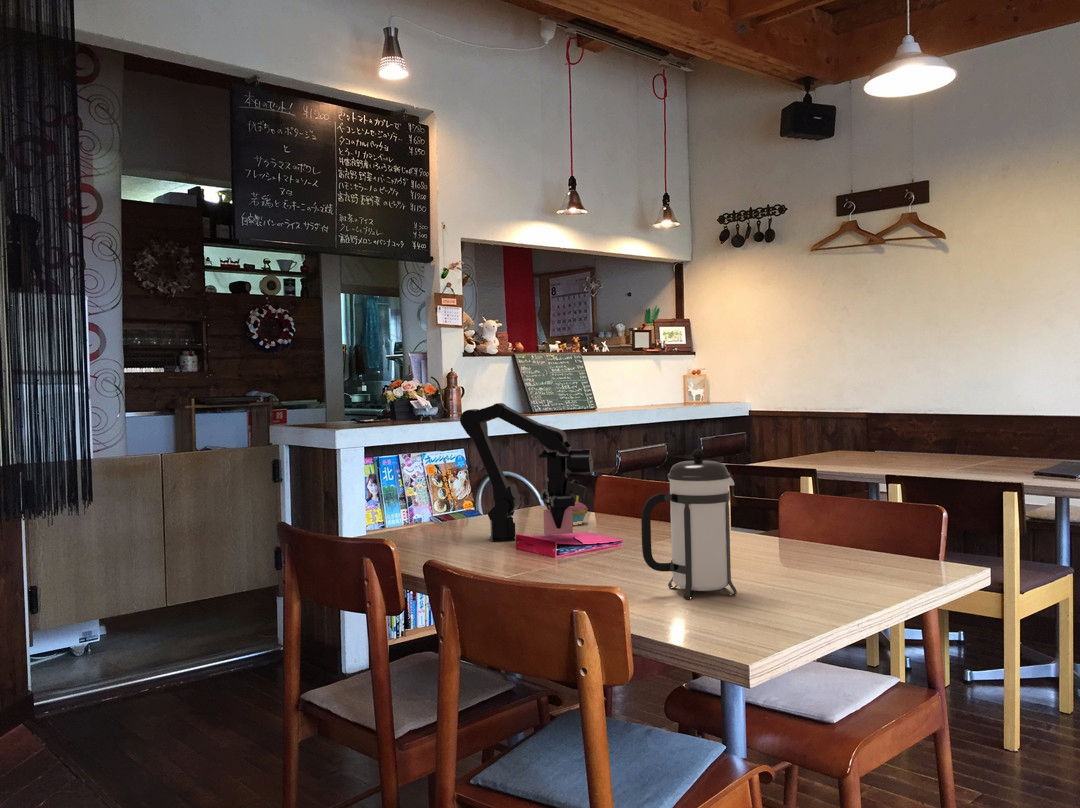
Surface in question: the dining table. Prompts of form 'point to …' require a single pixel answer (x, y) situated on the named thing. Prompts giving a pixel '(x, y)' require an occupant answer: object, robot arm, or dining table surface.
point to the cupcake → (578, 511)
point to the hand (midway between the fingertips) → (558, 527)
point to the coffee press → (695, 526)
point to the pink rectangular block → (551, 527)
